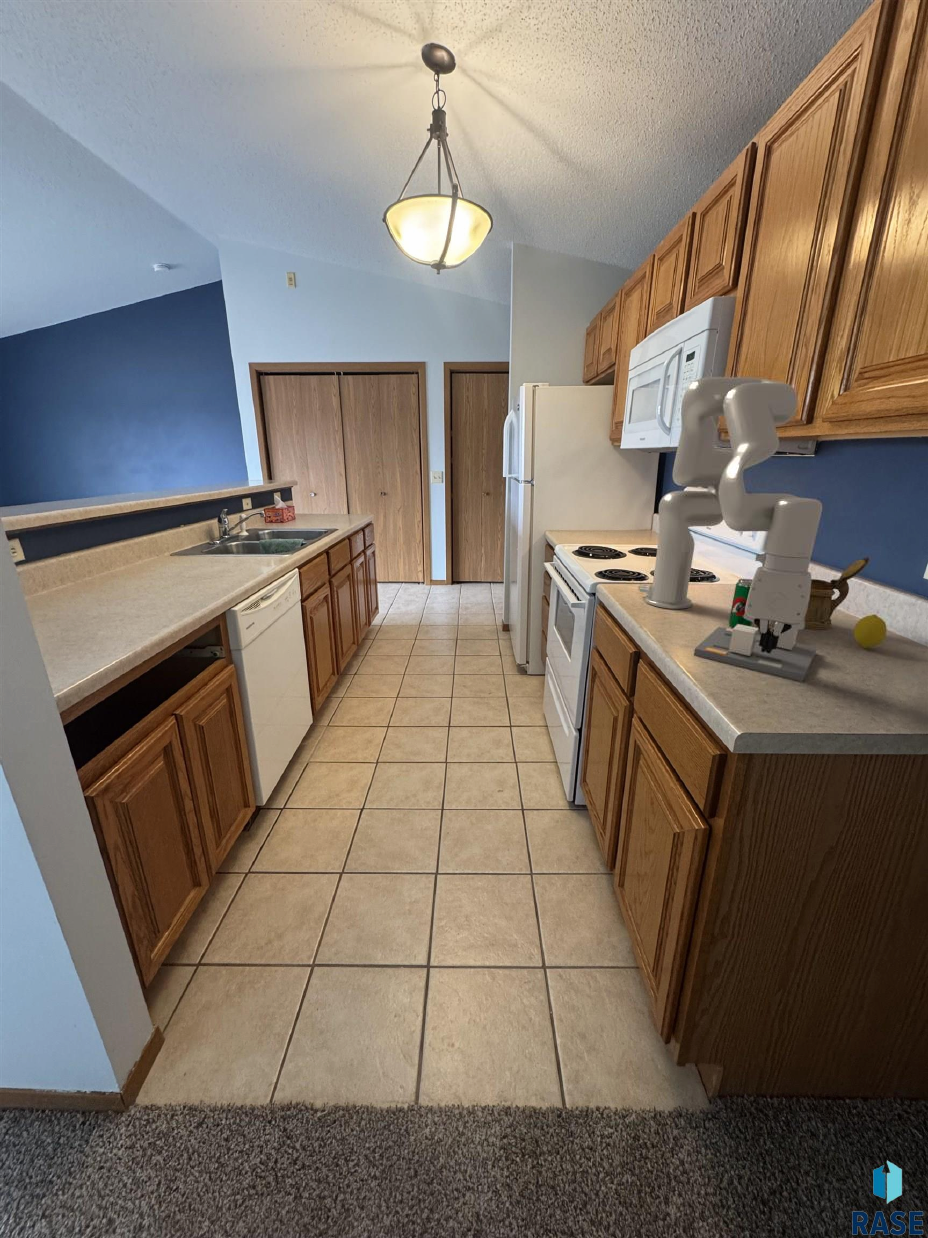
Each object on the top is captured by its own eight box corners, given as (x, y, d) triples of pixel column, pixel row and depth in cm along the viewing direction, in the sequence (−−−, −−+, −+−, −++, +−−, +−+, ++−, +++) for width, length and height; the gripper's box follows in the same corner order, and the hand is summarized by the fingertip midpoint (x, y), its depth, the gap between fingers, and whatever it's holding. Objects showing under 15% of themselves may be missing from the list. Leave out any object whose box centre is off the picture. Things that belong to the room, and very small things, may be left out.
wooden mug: (856, 634, 120) (877, 561, 114) (792, 627, 124) (808, 556, 119) (844, 623, 128) (863, 554, 122) (784, 616, 132) (799, 550, 126)
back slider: (769, 645, 108) (774, 623, 106) (773, 640, 111) (778, 619, 109) (791, 649, 105) (796, 627, 104) (794, 644, 108) (799, 623, 107)
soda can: (753, 631, 122) (763, 583, 118) (731, 629, 123) (740, 582, 119) (747, 624, 126) (756, 578, 122) (725, 623, 127) (734, 577, 123)
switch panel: (693, 654, 107) (695, 647, 107) (717, 632, 121) (718, 625, 120) (802, 681, 95) (804, 673, 94) (815, 653, 108) (817, 646, 108)
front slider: (728, 651, 105) (732, 628, 103) (733, 645, 108) (737, 624, 106) (749, 655, 102) (754, 633, 101) (754, 650, 105) (758, 628, 104)
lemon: (852, 641, 115) (861, 609, 112) (882, 648, 111) (892, 614, 109) (847, 648, 111) (856, 614, 109) (878, 655, 108) (889, 620, 105)
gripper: (738, 561, 98) (722, 647, 104) (830, 572, 89) (807, 666, 95) (747, 555, 103) (731, 637, 109) (834, 565, 94) (812, 654, 100)
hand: (766, 650), depth 102 cm, fingers closed
